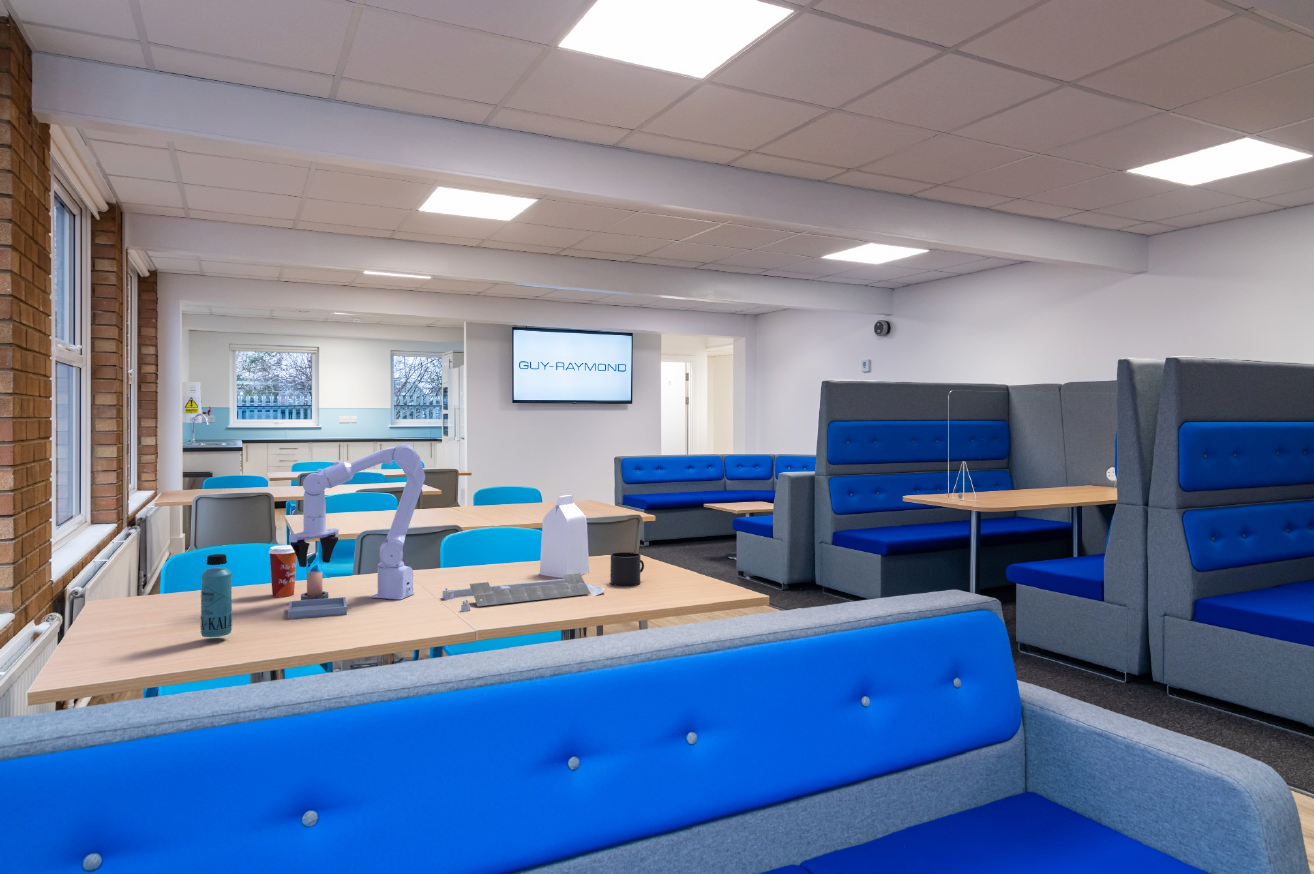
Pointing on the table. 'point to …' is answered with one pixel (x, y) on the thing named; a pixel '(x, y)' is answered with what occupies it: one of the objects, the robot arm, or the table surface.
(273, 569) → the paper cup
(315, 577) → the peg
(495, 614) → the table surface
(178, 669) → the table surface
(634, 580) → the mug
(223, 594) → the beverage bottle
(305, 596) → the sleeve
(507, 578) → the table surface
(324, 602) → the tray
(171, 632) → the table surface
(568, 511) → the milk
